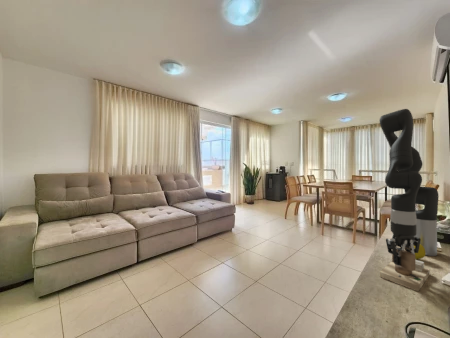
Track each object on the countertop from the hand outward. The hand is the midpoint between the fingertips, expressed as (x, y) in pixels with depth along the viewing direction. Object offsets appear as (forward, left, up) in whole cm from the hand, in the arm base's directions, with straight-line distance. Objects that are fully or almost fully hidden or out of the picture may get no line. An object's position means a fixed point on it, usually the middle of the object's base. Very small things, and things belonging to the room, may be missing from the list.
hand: (403, 263), depth 75 cm
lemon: (-24, -1, -6) cm, 25 cm away
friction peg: (0, +1, -3) cm, 3 cm away
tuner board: (-2, 0, -5) cm, 6 cm away
